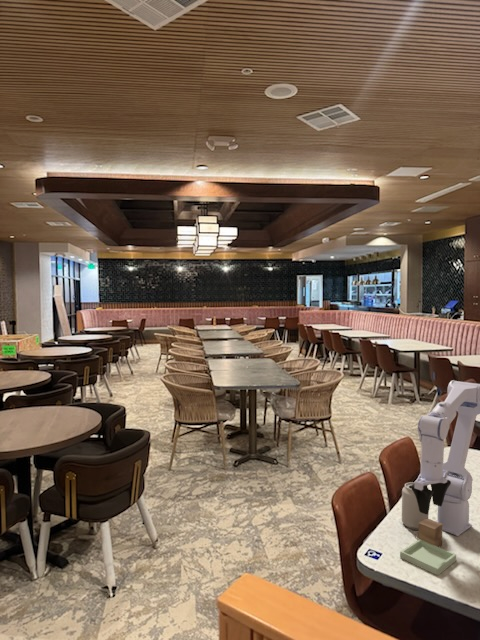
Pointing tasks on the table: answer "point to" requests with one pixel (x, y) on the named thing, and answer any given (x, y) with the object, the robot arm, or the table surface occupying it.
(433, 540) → the block
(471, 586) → the table surface
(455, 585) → the table surface
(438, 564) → the tray
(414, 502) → the can
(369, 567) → the table surface
